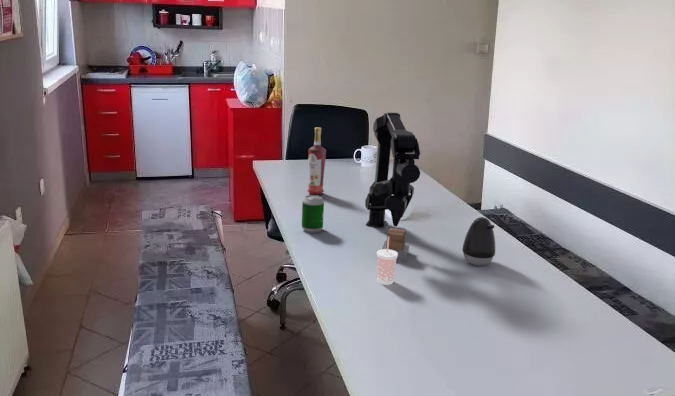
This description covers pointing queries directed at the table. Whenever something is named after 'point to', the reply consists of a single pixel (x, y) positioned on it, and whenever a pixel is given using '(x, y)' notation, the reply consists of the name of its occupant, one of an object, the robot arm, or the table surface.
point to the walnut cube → (396, 238)
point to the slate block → (400, 252)
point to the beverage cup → (386, 265)
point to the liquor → (316, 165)
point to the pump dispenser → (479, 242)
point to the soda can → (312, 213)
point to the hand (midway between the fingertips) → (397, 221)
